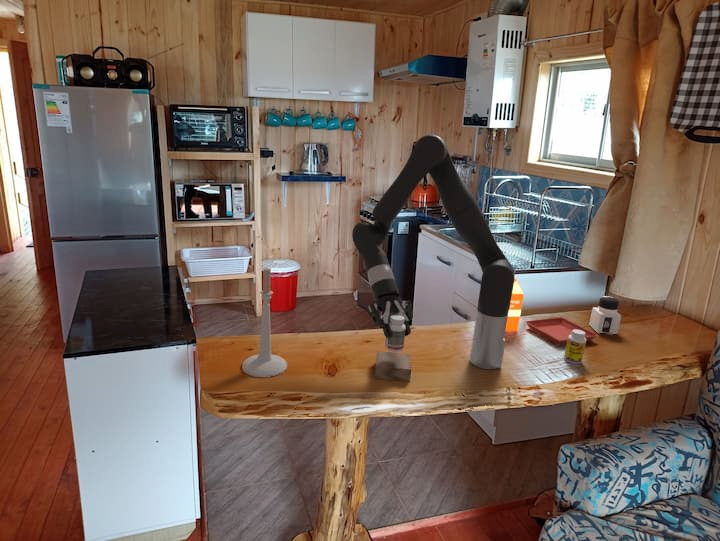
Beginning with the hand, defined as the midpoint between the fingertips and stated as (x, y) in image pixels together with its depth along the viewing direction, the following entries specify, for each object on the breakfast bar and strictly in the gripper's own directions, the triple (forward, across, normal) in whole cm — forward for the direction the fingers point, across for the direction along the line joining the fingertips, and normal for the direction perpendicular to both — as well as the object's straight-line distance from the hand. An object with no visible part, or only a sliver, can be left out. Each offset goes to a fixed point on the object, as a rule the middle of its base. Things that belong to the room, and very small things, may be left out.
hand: (398, 336), depth 150 cm
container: (+5, +94, +12) cm, 95 cm away
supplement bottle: (+16, +61, +1) cm, 63 cm away
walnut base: (+8, 0, +10) cm, 12 cm away
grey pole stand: (-3, -34, +21) cm, 40 cm away
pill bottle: (+2, 0, +5) cm, 5 cm away
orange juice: (-5, +58, +22) cm, 62 cm away
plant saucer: (+4, +73, +14) cm, 75 cm away
